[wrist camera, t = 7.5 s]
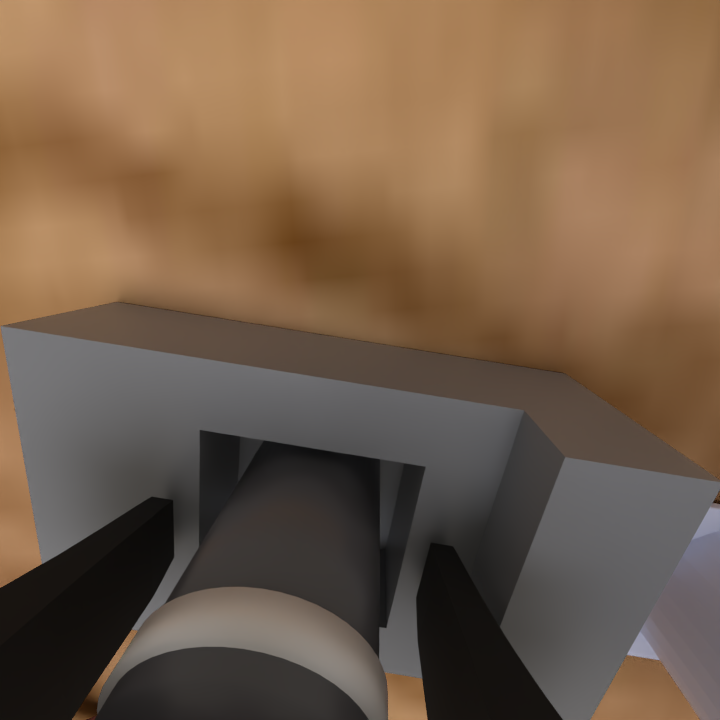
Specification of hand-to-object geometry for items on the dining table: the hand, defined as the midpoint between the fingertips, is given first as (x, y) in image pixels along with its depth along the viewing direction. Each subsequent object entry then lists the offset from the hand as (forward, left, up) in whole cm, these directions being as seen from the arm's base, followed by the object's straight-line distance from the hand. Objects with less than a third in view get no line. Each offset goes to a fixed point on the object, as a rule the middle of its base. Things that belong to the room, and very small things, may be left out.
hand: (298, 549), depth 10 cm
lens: (0, 0, -3) cm, 3 cm away
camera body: (0, 0, -4) cm, 4 cm away
